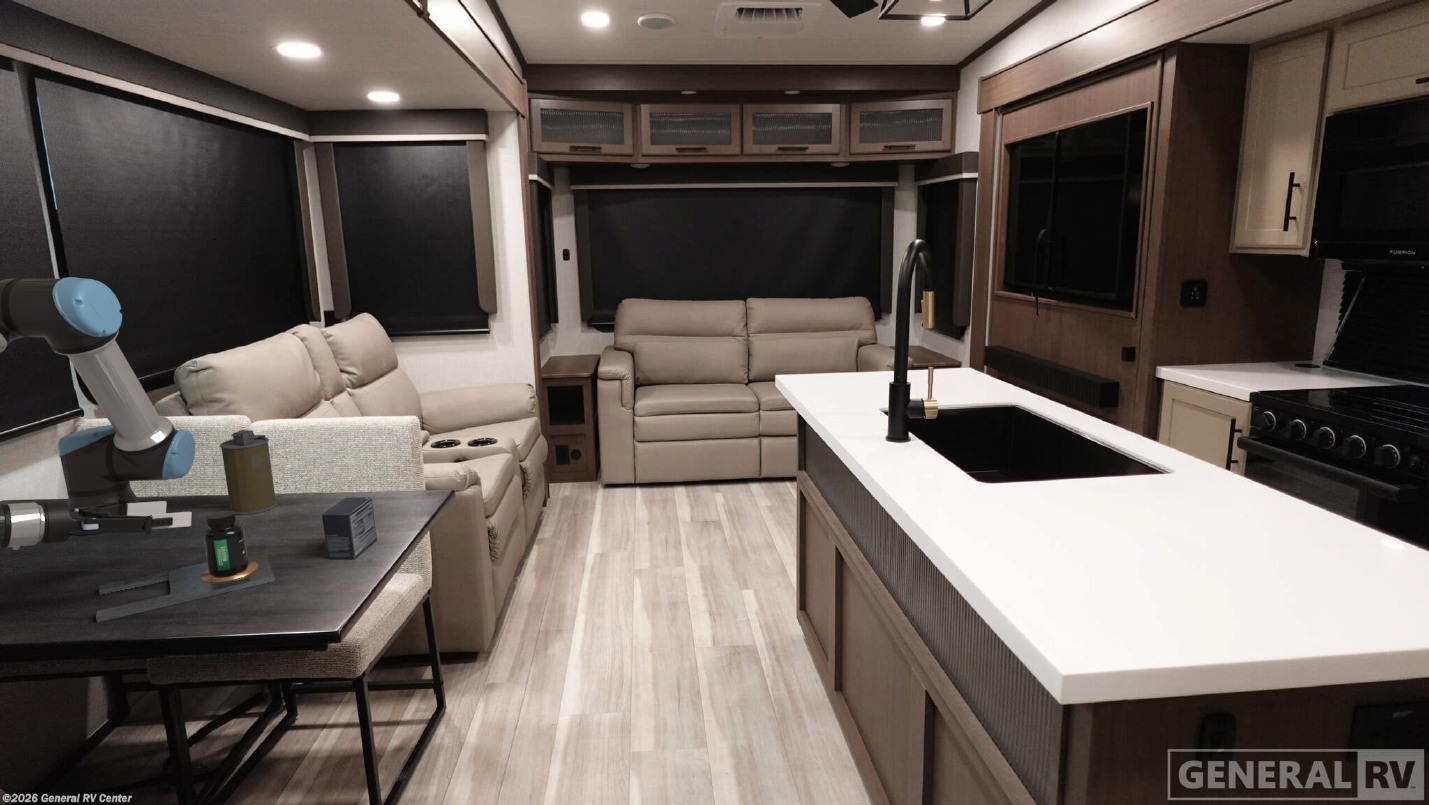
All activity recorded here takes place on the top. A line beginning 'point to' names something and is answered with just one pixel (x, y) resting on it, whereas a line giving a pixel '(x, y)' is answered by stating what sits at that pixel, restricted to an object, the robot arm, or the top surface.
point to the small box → (349, 528)
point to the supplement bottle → (225, 545)
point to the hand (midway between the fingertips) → (178, 513)
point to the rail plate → (187, 585)
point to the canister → (248, 473)
